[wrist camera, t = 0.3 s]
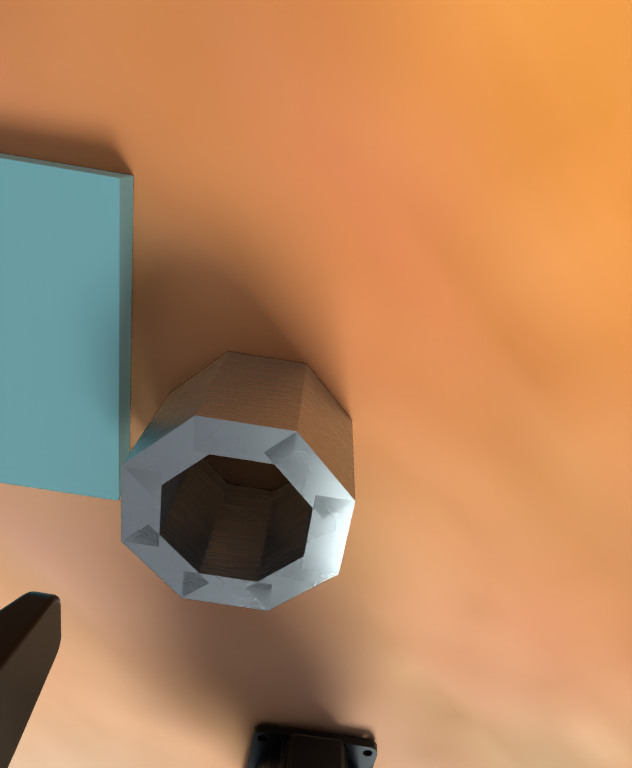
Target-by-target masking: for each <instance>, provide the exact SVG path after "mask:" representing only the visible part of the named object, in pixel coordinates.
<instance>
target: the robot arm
mask: <svg viewBox="0 0 632 768" xmlns="http://www.w3.org/2000/svg"><path fill="white" fill-rule="evenodd" d="M60 641H61V604H60V599H59V597H58V596H56V595H53V594H47V593H41V592H28V593H26V594H24V595H22V596H21V597H19V598H18V599H16V600H15V601H13V602H12V603H10V604H9V605H7V606H6V607H4V608H3V609H1V610H0V768H8V766H9V764H10V762H11V759H12V757H13V755H14V753H15V751H16V748H17V746H18V744H19V741H20V739H21V737H22V734H23V732H24V730H25V727H26V725H27V723H28V720H29V718H30V716H31V713H32V711H33V709H34V706H35V704H36V702H37V699H38V697H39V695H40V692H41V690H42V688H43V685H44V683H45V681H46V678H47V676H48V674H49V671H50V669H51V667H52V664H53V662H54V660H55V657H56V655H57V652H58V649H59V646H60ZM376 756H377V744H376V743H375V742H374V741H373V740H370V739H363V738H356V737H349V736H342V735H335V734H328V733H321V732H314V731H307V730H300V729H293V728H286V727H279V726H272V725H265V724H260V725H257V726H256V727H255V728H254V732H253V737H252V743H251V749H250V755H249V761H248V767H247V768H373V766H374V762H375V759H376Z"/></svg>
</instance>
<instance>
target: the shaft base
mask: <svg viewBox="0 0 632 768" xmlns="http://www.w3.org/2000/svg"><path fill="white" fill-rule="evenodd" d="M133 177H134V176H133V175H127V174H121V173H116V172H110V171H104V170H98V169H92V168H86V167H80V166H74V165H68V164H62V163H56V162H50V161H44V160H38V159H32V158H26V157H20V156H15V155H9V154H3V153H0V483H6V484H13V485H19V486H26V487H32V488H39V489H46V490H52V491H59V492H65V493H72V494H78V495H85V496H91V497H98V498H105V499H111V500H118V501H119V499H120V497H121V489H122V464H123V462H124V461H125V459H126V458H127V456H128V455H129V453H130V396H131V323H132V250H133Z"/></svg>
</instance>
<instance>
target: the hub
mask: <svg viewBox="0 0 632 768" xmlns="http://www.w3.org/2000/svg"><path fill="white" fill-rule="evenodd" d="M209 454H211V455H218V456H224V457H231V458H237V459H244V460H250V461H257V462H263V463H269V464H275V466H276V467H277V468H278V469H279V470H280V471H281V472H282V474H283V475H284V476H285V477H286V478H287V479H288V480H289V482H288V483H287V484H285V485H283V486H282V487H280V488H278V489H277V490H275V491H271V490H264V489H258V488H251V487H245V486H238V485H232V484H228V483H227V482H226V481H225V480H224V479H223V478H222V477H221V476H220V475H219V474H218V472H217V471H216V470H215V469H214V468H213V467H212V466H211V465H210V464H209V463H208V462H207V461H206V460H205V458H204V457H206V456H207V455H209ZM354 504H355V483H354V457H353V431H352V421H351V419H350V418H349V417H348V415H347V414H346V413H345V412H344V410H343V409H342V408H341V407H340V405H339V404H338V403H337V401H336V400H335V399H334V398H333V396H332V395H331V394H330V393H329V391H328V390H327V389H326V387H325V386H324V385H323V384H322V382H321V381H320V380H319V379H318V377H317V376H316V375H315V373H314V372H313V371H312V370H311V368H310V367H309V366H308V365H307V364H305V363H298V362H292V361H286V360H280V359H273V358H267V357H261V356H255V355H248V354H242V353H236V352H230V351H228V352H227V353H225V354H224V355H223V356H221V357H220V358H218V359H217V360H215V361H214V362H213V363H211V364H210V365H208V366H207V367H206V368H204V369H203V370H201V371H200V372H198V373H197V374H196V375H194V376H193V377H191V378H190V379H189V380H187V381H186V382H184V383H183V384H181V385H180V386H179V387H177V388H176V389H174V390H173V391H172V392H170V393H169V395H168V396H167V398H166V399H165V401H164V402H163V404H162V405H161V407H160V408H159V410H158V411H157V413H156V414H155V416H154V417H153V419H152V420H151V422H150V423H149V425H148V426H147V428H146V429H145V431H144V432H143V434H142V435H141V437H140V438H139V440H138V441H137V443H136V444H135V446H134V447H133V449H132V450H131V452H130V453H129V455H128V456H127V458H126V459H125V461H124V462H123V464H122V489H121V542H122V543H124V544H125V545H126V546H127V547H128V548H129V549H130V550H131V551H132V552H133V553H134V554H135V555H136V556H137V557H139V558H140V559H141V560H142V561H143V562H144V563H145V564H146V565H147V566H148V567H149V568H150V569H151V570H152V571H154V572H155V573H156V574H157V575H158V576H159V577H160V578H161V579H162V580H163V581H164V582H165V583H166V584H167V585H169V586H170V587H171V588H172V589H173V590H174V591H175V592H176V593H177V594H178V595H179V596H180V597H181V598H185V599H191V600H198V601H205V602H212V603H218V604H225V605H232V606H239V607H245V608H252V609H259V610H266V611H268V610H270V609H272V608H274V607H276V606H278V605H280V604H282V603H284V602H286V601H288V600H290V599H291V598H293V597H295V596H297V595H299V594H301V593H303V592H305V591H307V590H309V589H311V588H313V587H315V586H316V585H318V584H320V583H322V582H324V581H326V580H328V579H330V578H332V577H334V576H336V575H338V574H339V570H340V566H341V561H342V557H343V552H344V548H345V544H346V539H347V535H348V531H349V526H350V522H351V517H352V513H353V509H354Z"/></svg>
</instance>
